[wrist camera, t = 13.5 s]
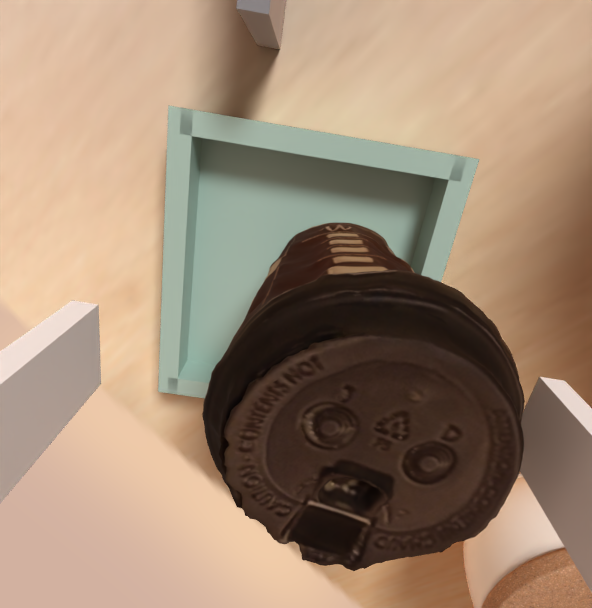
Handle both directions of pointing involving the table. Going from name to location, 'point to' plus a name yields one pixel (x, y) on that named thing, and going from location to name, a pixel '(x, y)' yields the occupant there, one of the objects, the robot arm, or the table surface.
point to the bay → (263, 20)
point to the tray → (280, 219)
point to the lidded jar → (522, 560)
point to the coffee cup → (364, 405)
